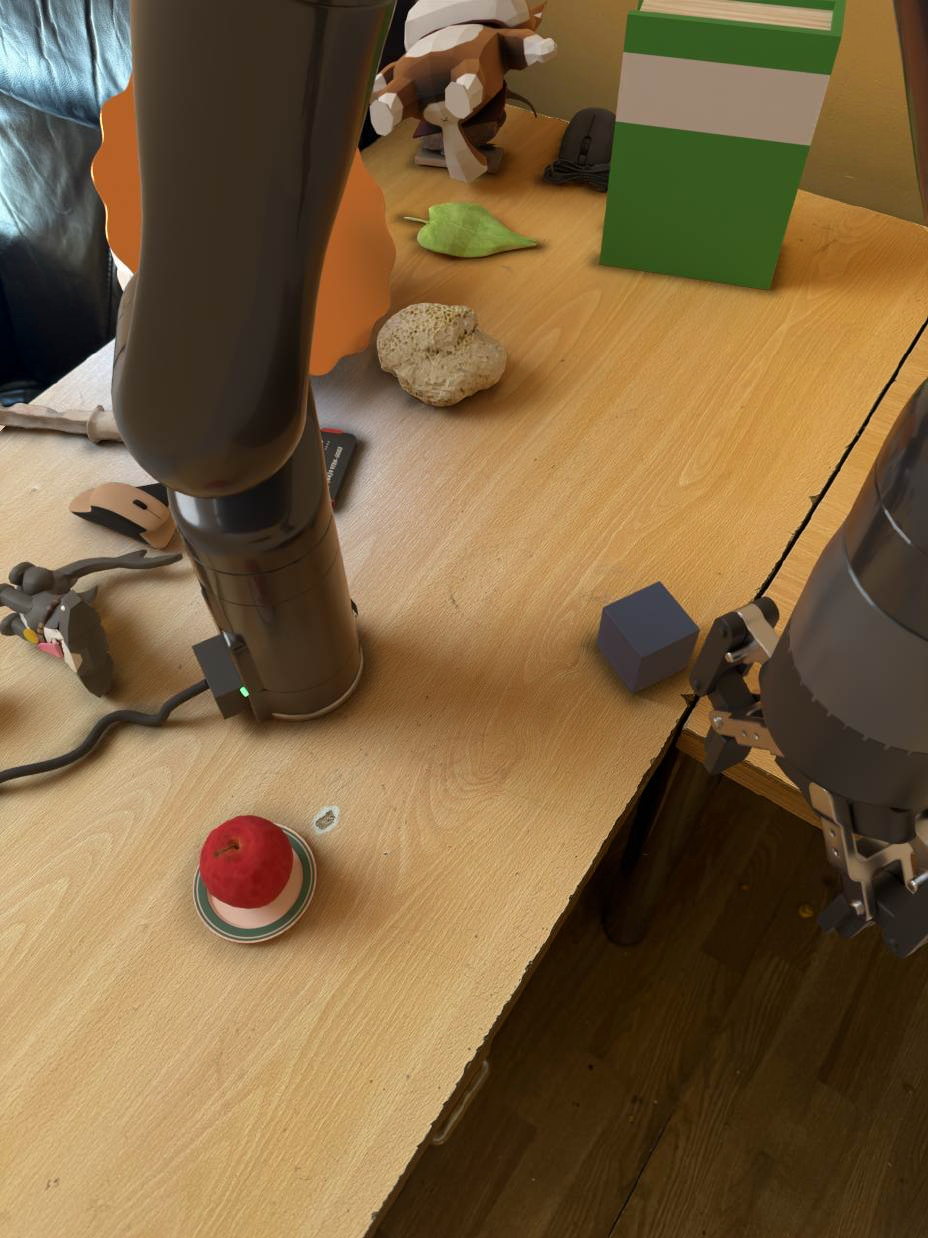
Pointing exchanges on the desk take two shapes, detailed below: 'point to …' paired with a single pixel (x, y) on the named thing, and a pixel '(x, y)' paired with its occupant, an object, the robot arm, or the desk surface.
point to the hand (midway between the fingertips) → (778, 837)
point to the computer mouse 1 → (128, 511)
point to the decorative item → (439, 353)
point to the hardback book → (715, 133)
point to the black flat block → (337, 458)
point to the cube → (646, 637)
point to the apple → (253, 879)
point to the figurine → (476, 136)
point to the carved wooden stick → (62, 420)
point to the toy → (458, 71)
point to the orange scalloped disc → (352, 256)
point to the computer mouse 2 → (585, 150)
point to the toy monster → (68, 612)
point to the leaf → (467, 231)
